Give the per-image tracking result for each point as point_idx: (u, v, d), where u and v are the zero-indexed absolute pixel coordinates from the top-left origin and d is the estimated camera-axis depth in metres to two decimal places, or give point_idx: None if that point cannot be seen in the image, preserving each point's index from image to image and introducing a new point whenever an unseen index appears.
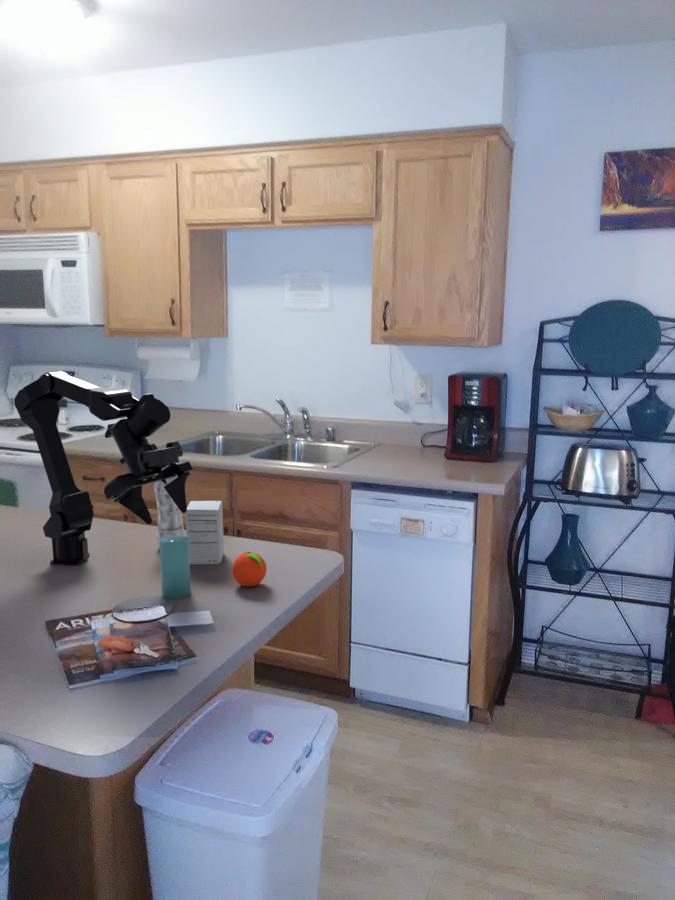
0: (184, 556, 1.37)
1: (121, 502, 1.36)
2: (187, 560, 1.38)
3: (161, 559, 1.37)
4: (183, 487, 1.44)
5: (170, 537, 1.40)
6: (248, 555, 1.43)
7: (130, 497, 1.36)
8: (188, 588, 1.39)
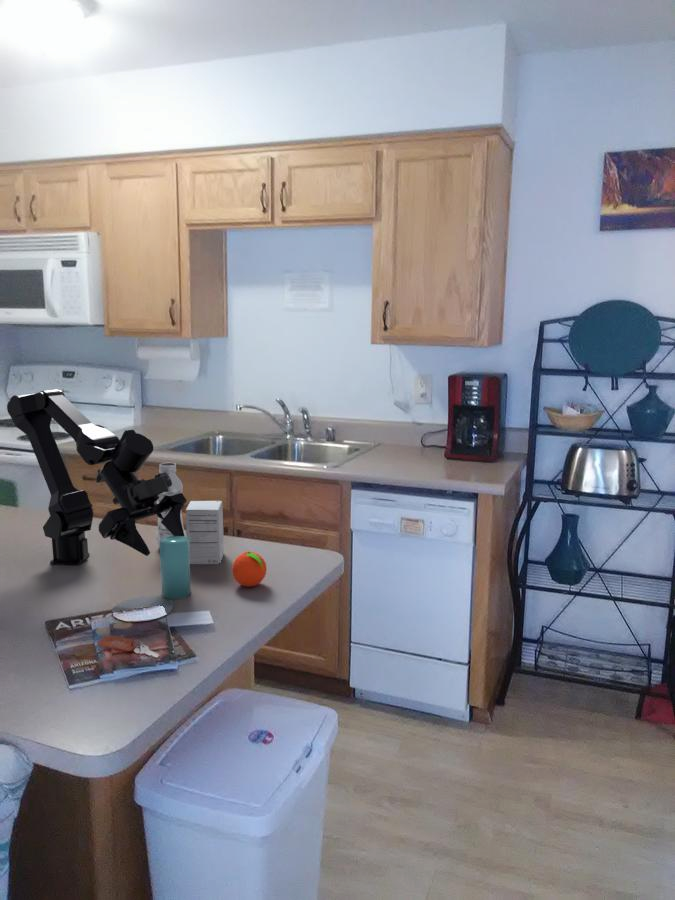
0: (184, 556, 1.37)
1: (117, 538, 1.37)
2: (187, 560, 1.38)
3: (161, 559, 1.37)
4: (178, 518, 1.45)
5: (170, 537, 1.40)
6: (248, 555, 1.43)
7: (125, 532, 1.37)
8: (188, 588, 1.39)
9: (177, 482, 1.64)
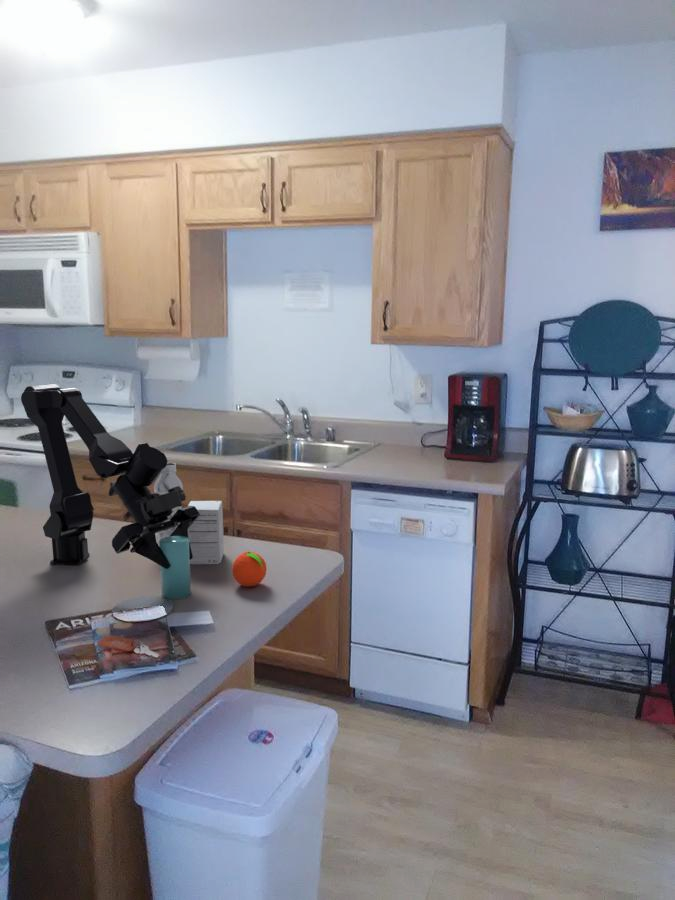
0: (184, 556, 1.37)
1: (137, 551, 1.37)
2: (187, 560, 1.38)
3: None
4: (186, 534, 1.42)
5: (170, 537, 1.40)
6: (248, 555, 1.43)
7: (145, 545, 1.37)
8: (188, 588, 1.39)
9: (177, 482, 1.64)
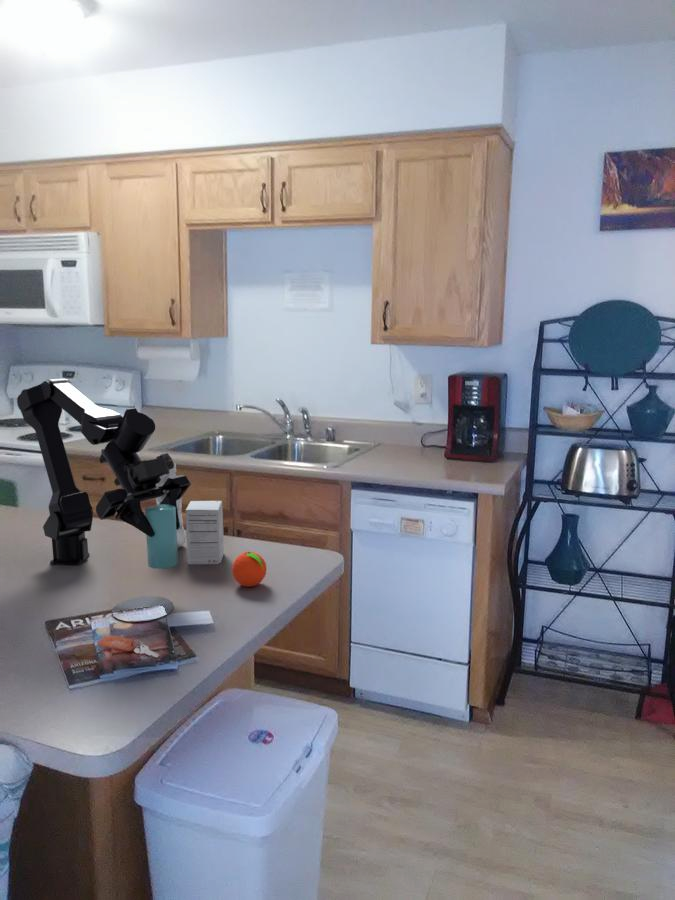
0: (169, 525, 1.34)
1: (122, 518, 1.34)
2: (173, 529, 1.34)
3: None
4: (174, 503, 1.39)
5: (157, 505, 1.37)
6: (248, 555, 1.43)
7: (130, 512, 1.34)
8: (174, 558, 1.36)
9: None
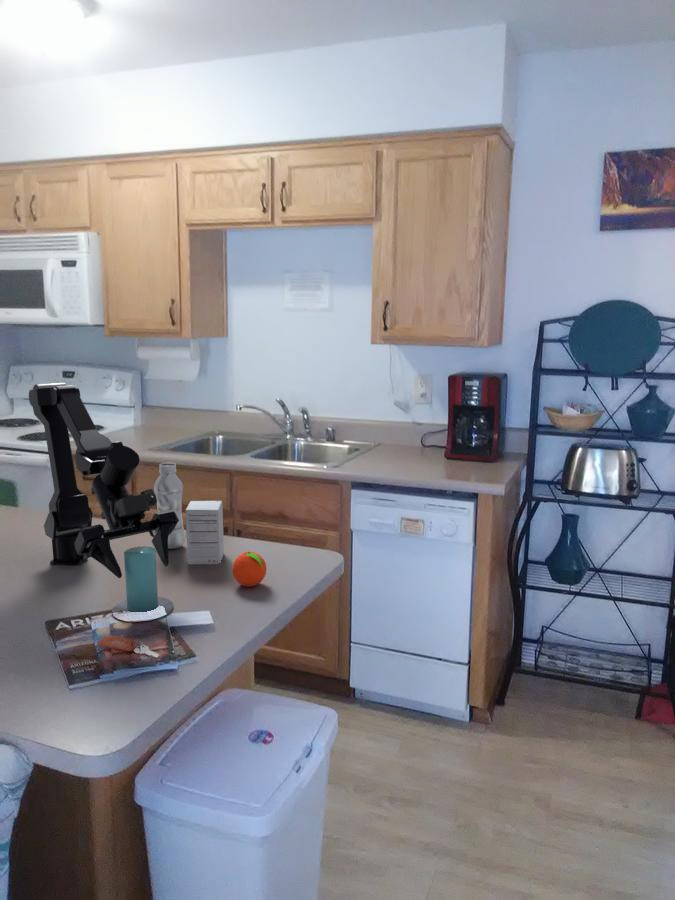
0: (146, 569, 1.29)
1: (94, 556, 1.30)
2: (151, 574, 1.30)
3: (125, 570, 1.30)
4: (166, 538, 1.35)
5: (139, 547, 1.33)
6: (248, 555, 1.43)
7: (101, 550, 1.29)
8: (152, 603, 1.31)
9: (177, 482, 1.64)
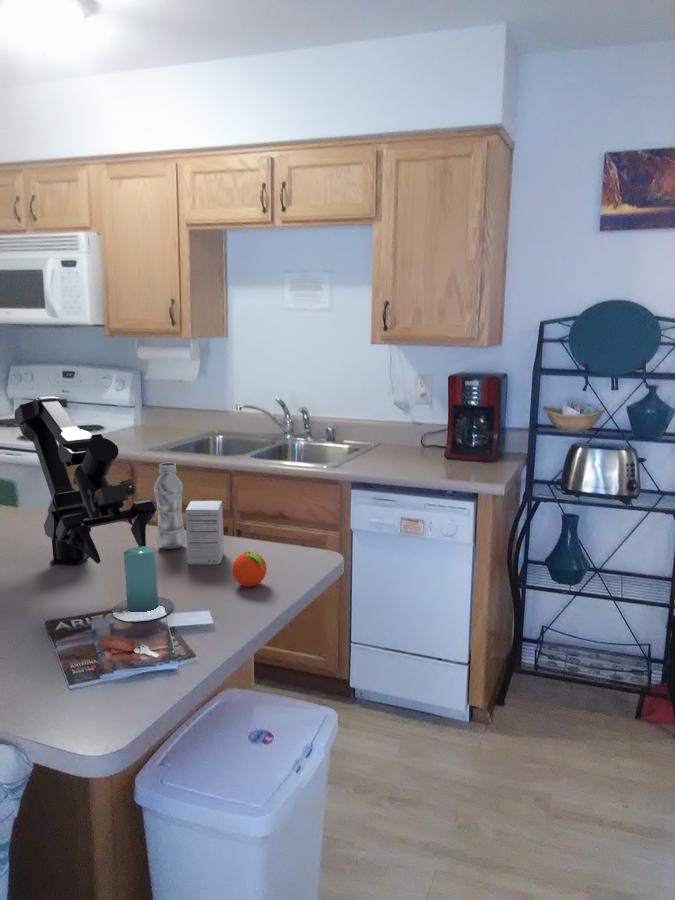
0: (146, 569, 1.29)
1: (74, 543, 1.37)
2: (151, 574, 1.30)
3: (125, 570, 1.30)
4: (143, 527, 1.42)
5: (139, 547, 1.33)
6: (248, 555, 1.43)
7: (81, 537, 1.36)
8: (152, 603, 1.31)
9: (177, 482, 1.64)
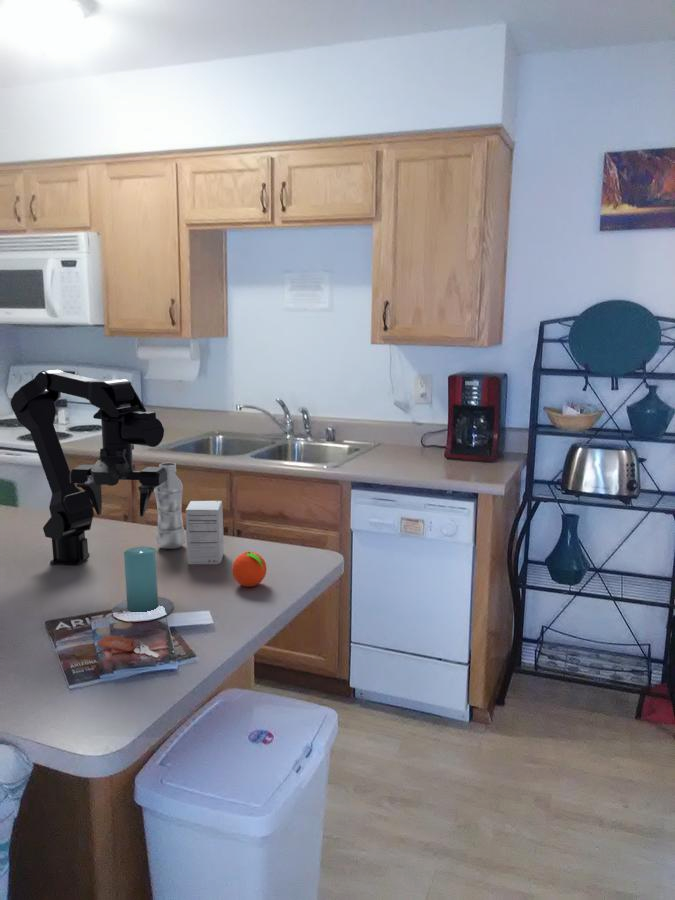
0: (146, 569, 1.29)
1: None
2: (151, 574, 1.30)
3: (125, 570, 1.30)
4: (144, 496, 1.46)
5: (139, 547, 1.33)
6: (248, 555, 1.43)
7: None
8: (152, 603, 1.31)
9: (177, 482, 1.64)
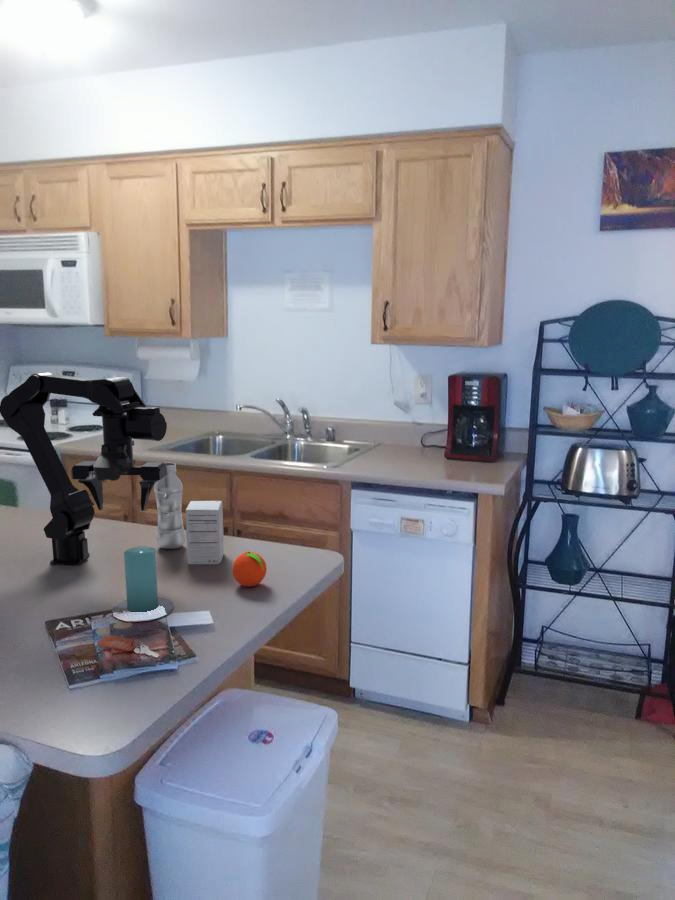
0: (146, 569, 1.29)
1: None
2: (151, 574, 1.30)
3: (125, 570, 1.30)
4: (145, 491, 1.49)
5: (139, 547, 1.33)
6: (248, 555, 1.43)
7: None
8: (152, 603, 1.31)
9: (177, 482, 1.64)
